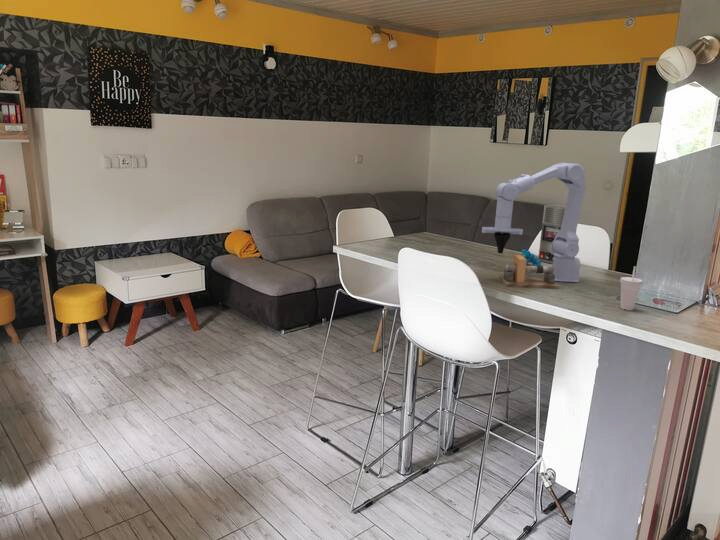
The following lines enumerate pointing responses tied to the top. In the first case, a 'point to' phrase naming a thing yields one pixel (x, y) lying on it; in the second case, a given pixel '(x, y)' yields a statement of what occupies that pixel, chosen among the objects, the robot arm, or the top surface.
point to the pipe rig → (530, 281)
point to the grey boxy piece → (550, 231)
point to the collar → (519, 268)
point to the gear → (530, 258)
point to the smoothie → (629, 291)
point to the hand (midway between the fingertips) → (499, 252)
